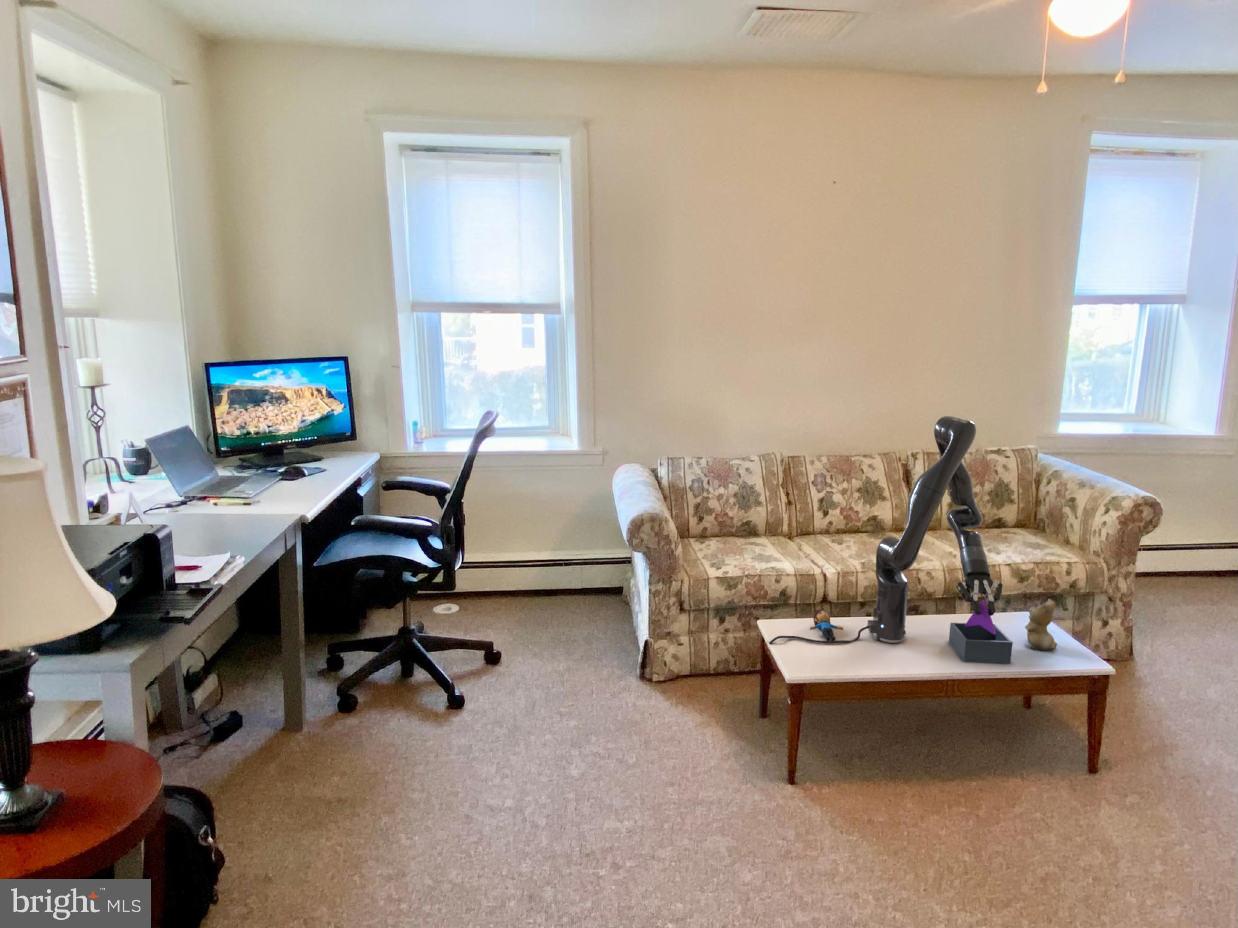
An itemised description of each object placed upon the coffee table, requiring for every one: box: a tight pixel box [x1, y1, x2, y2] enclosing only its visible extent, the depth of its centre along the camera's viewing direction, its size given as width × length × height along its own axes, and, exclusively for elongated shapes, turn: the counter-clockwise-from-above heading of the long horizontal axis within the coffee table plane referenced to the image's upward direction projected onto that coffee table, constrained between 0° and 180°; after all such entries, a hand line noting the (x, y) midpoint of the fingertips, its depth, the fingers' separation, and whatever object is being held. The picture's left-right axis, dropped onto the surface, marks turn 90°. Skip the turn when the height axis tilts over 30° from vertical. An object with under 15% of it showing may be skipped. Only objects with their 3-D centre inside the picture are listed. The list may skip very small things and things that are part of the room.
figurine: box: [1024, 598, 1058, 651], centre depth 238 cm, size 10×8×15 cm
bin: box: [948, 622, 1013, 664], centre depth 233 cm, size 14×14×7 cm
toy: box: [809, 609, 844, 641], centre depth 248 cm, size 11×6×15 cm
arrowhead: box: [965, 599, 996, 635], centre depth 232 cm, size 10×2×10 cm
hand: (985, 614), depth 229 cm, fingers closed on arrowhead, 3 cm apart
